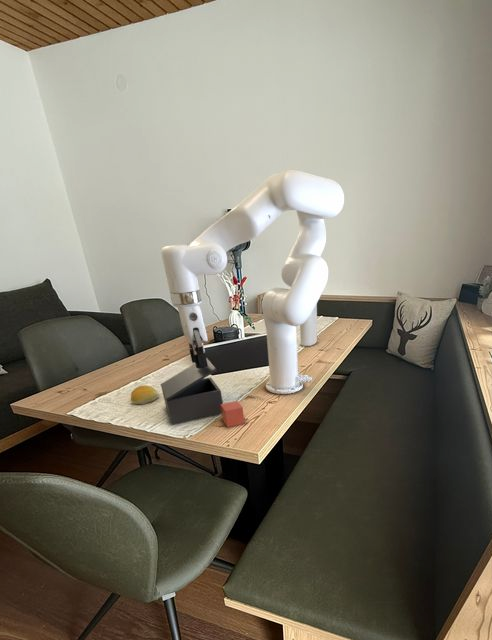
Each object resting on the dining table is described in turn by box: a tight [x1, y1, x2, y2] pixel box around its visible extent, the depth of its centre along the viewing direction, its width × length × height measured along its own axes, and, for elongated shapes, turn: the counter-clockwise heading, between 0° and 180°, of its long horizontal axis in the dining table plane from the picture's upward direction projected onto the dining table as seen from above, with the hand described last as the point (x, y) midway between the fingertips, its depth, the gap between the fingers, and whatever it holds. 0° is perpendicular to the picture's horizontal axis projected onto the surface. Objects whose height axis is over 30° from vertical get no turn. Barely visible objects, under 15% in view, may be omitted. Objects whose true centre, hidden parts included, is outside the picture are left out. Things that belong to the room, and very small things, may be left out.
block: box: [220, 400, 245, 428], centre depth 100 cm, size 5×5×5 cm
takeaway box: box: [161, 376, 224, 426], centre depth 107 cm, size 15×12×7 cm
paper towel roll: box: [299, 303, 318, 347], centre depth 159 cm, size 7×6×21 cm
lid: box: [160, 353, 218, 401], centre depth 102 cm, size 16×12×5 cm
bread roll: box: [130, 385, 159, 405], centre depth 116 cm, size 8×9×4 cm
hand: (199, 363), depth 103 cm, fingers closed on lid, 5 cm apart
